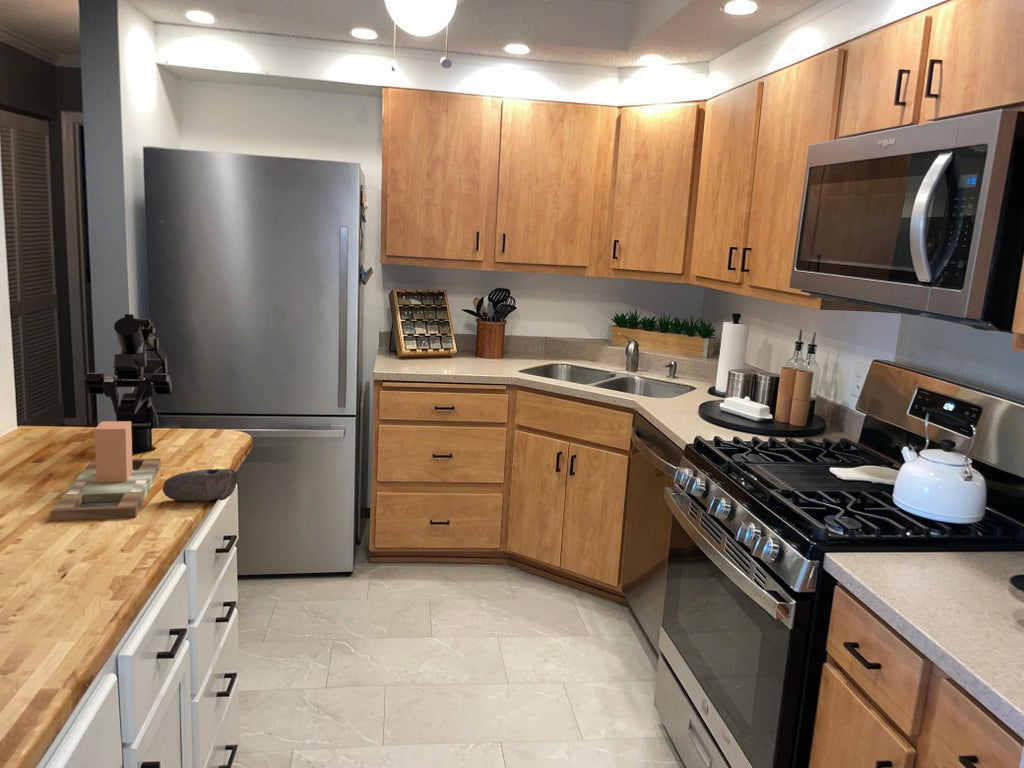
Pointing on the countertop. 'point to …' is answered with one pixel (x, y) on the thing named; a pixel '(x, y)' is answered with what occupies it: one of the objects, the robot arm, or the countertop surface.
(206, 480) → the perforated stone tool
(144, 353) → the robot arm
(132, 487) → the trap board
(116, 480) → the terracotta block
